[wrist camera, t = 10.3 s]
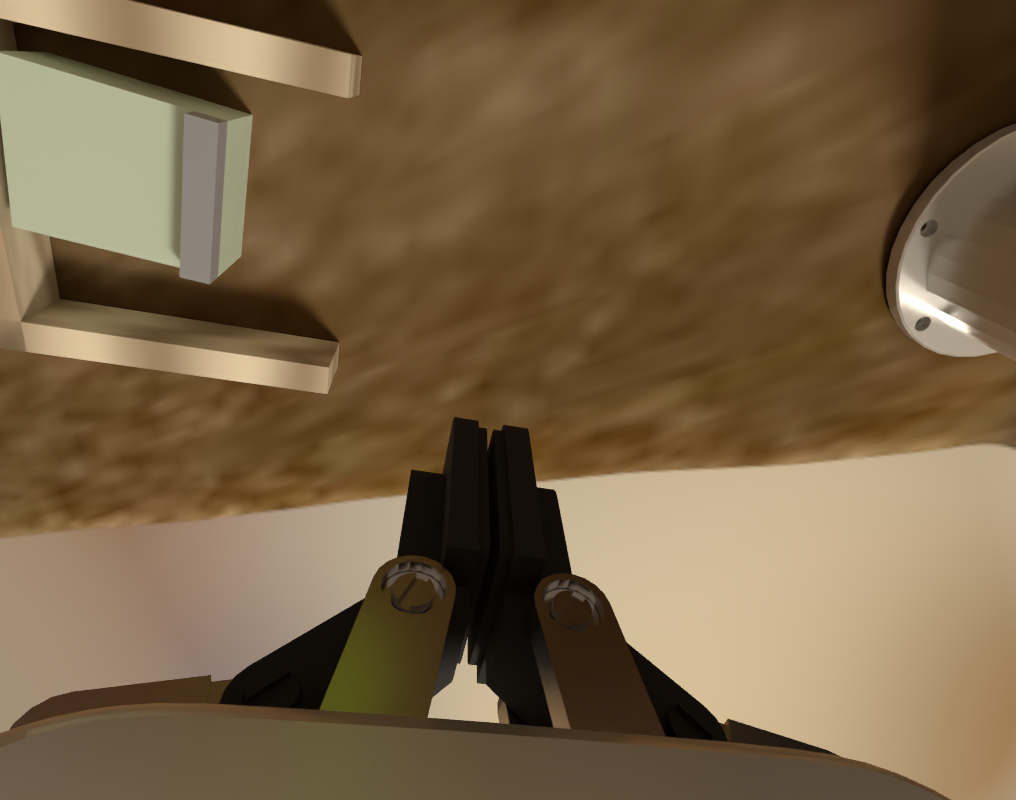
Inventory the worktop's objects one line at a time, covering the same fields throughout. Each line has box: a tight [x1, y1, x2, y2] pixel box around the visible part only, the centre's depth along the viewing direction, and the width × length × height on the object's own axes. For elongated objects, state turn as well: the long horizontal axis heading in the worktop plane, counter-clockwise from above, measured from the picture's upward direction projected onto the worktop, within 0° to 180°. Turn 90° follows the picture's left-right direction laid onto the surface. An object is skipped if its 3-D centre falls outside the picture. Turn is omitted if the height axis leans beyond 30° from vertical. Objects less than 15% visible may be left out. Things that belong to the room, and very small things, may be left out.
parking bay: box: [0, 0, 362, 394], centre depth 25 cm, size 15×15×3 cm
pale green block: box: [0, 51, 253, 284], centre depth 24 cm, size 8×6×4 cm
